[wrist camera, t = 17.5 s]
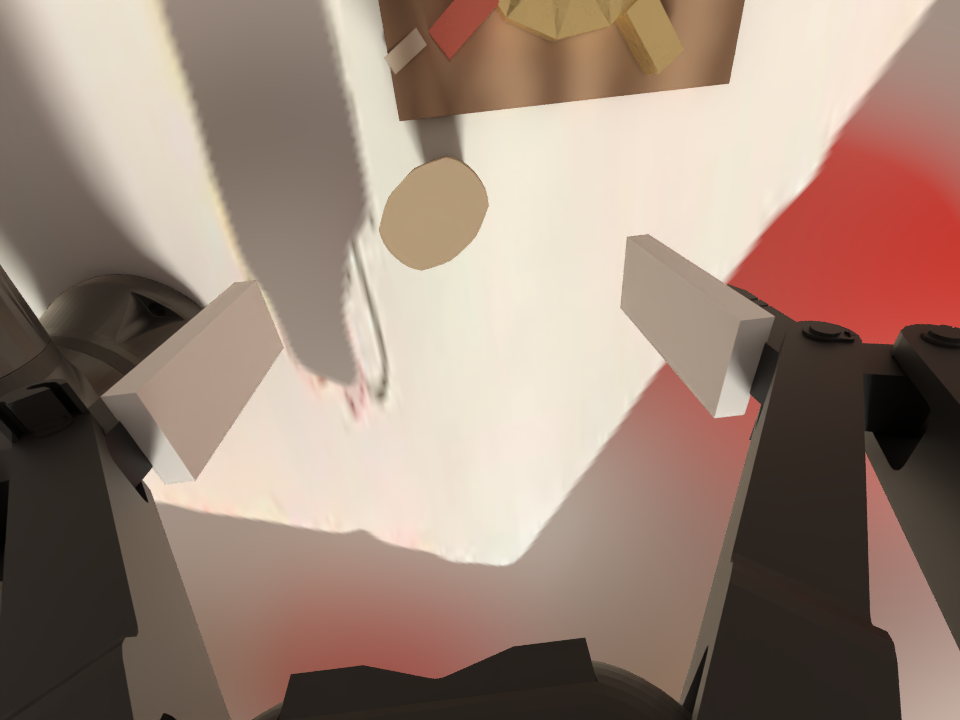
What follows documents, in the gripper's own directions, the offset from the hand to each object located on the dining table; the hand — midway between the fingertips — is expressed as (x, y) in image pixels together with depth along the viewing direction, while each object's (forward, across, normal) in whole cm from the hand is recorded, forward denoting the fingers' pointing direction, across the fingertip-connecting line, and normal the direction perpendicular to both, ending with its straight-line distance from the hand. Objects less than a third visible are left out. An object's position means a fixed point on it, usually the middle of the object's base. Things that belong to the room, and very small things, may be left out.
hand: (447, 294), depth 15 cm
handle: (+25, 0, 0) cm, 25 cm away
